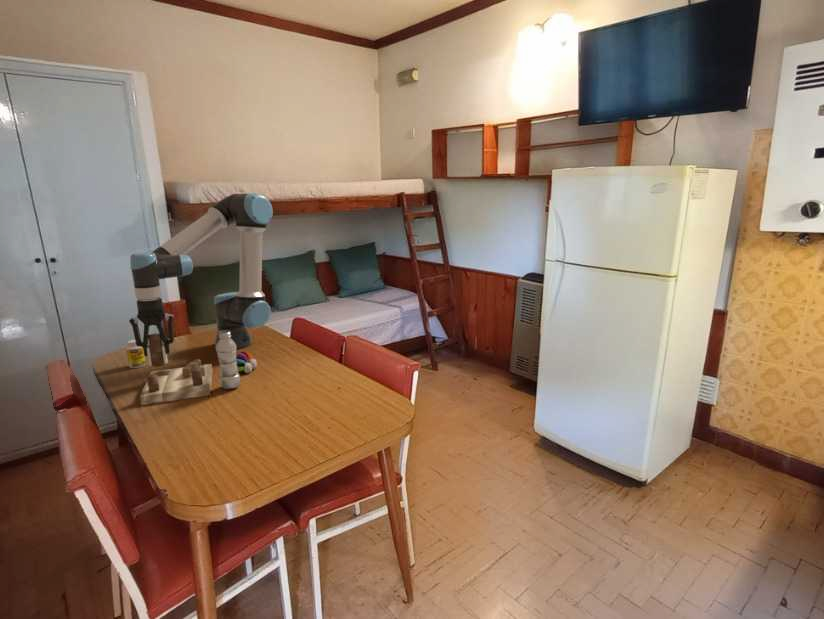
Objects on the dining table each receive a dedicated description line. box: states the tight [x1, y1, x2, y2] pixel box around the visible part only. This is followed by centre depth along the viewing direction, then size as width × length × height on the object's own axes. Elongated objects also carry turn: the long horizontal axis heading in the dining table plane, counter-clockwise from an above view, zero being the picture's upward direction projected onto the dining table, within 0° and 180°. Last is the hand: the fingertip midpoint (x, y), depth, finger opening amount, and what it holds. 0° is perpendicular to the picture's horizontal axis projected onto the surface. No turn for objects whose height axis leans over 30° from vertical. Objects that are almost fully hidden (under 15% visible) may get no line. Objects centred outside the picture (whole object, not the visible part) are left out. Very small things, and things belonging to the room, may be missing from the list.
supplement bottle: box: [125, 339, 146, 369], centre depth 177 cm, size 6×6×10 cm
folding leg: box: [181, 358, 202, 377], centre depth 163 cm, size 9×3×3 cm, turn 178°
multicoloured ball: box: [236, 350, 258, 374], centre depth 172 cm, size 8×10×7 cm
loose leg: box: [148, 332, 166, 368], centre depth 160 cm, size 4×4×11 cm
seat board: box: [139, 363, 213, 406], centre depth 158 cm, size 20×22×8 cm
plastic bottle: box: [215, 330, 241, 390], centre depth 155 cm, size 6×7×20 cm
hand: (158, 363), depth 161 cm, fingers closed on loose leg, 4 cm apart
